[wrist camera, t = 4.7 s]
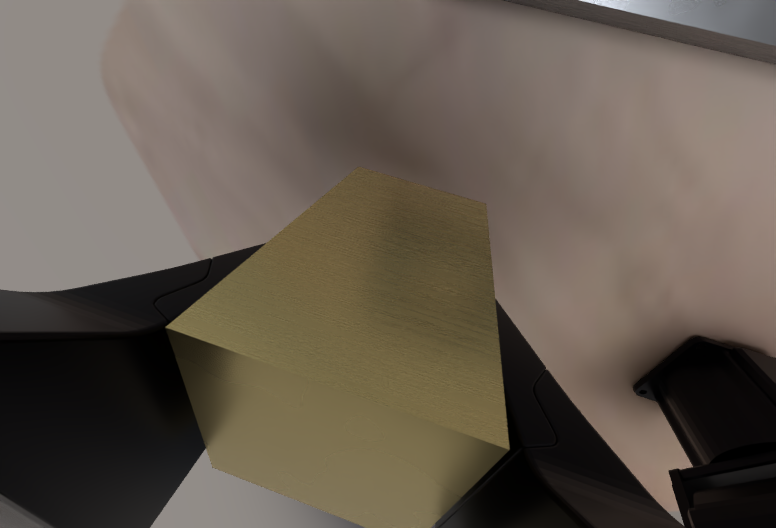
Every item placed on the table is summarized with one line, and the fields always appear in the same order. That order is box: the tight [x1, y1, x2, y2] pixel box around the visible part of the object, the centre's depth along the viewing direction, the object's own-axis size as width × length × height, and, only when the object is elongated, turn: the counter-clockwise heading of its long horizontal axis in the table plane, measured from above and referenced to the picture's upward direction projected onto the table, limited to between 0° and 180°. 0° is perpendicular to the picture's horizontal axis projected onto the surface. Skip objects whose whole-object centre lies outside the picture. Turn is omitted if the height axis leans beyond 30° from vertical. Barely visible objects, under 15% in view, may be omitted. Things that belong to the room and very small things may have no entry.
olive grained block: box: [165, 167, 510, 528], centre depth 7 cm, size 4×4×7 cm
